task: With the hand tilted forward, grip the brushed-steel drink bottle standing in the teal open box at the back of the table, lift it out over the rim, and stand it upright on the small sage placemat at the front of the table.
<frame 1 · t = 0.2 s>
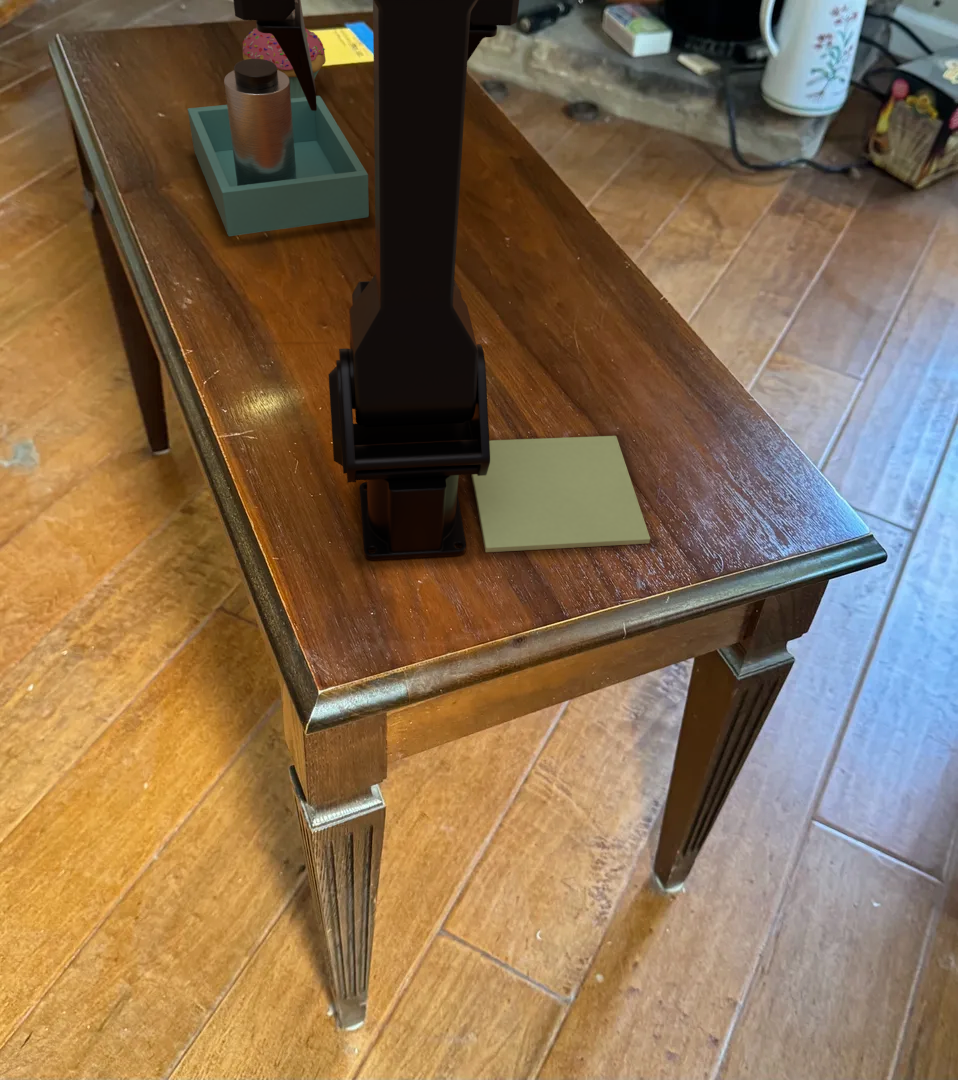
hand: (376, 108, 70), 14 cm above the table, tool pointing down, fingers open, 9 cm apart
placemat: (554, 493, 65), on the table
cupcake: (286, 98, 101), on the table
teal open box: (279, 190, 88), on the table
bottle: (269, 204, 85), point 1 cm above the table, touching teal open box
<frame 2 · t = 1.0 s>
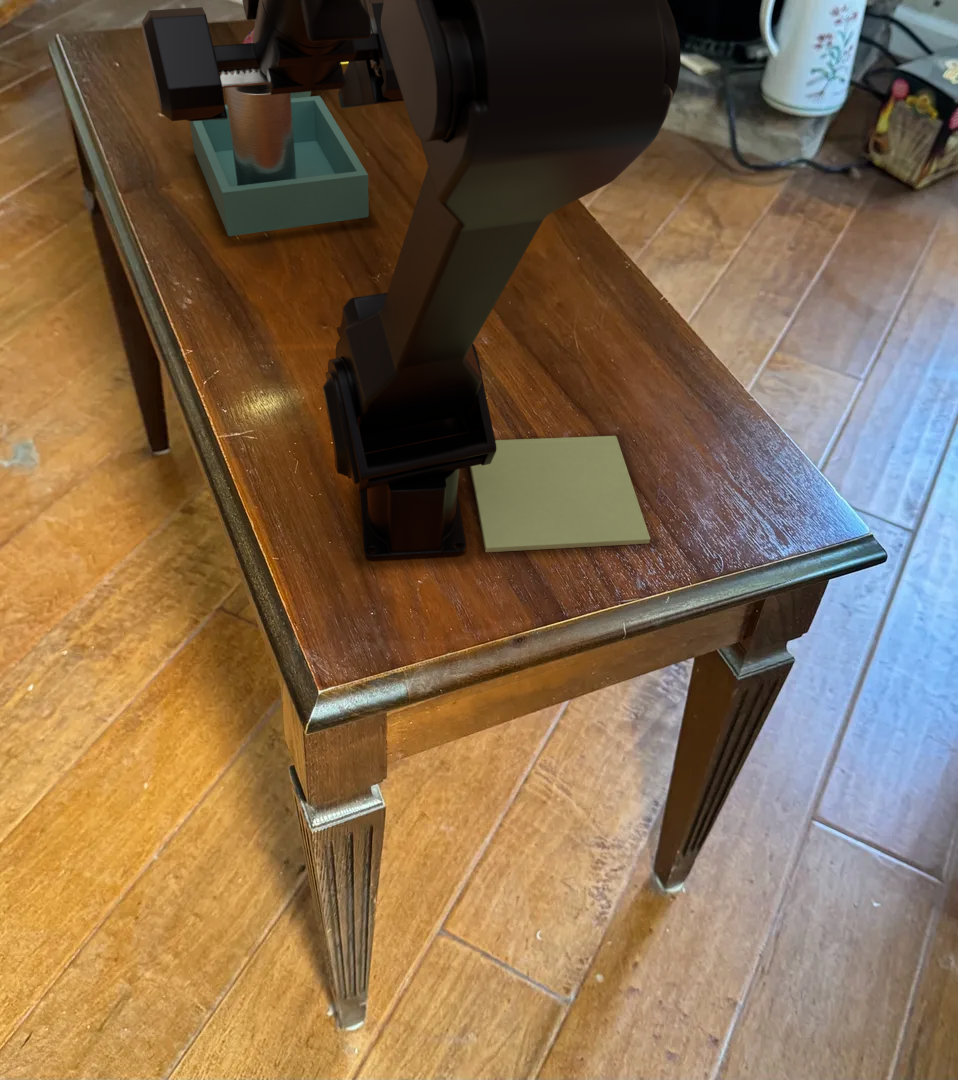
hand: (282, 106, 71), 13 cm above the table, tool tilted 45°, fingers open, 9 cm apart
nothing on the table moved.
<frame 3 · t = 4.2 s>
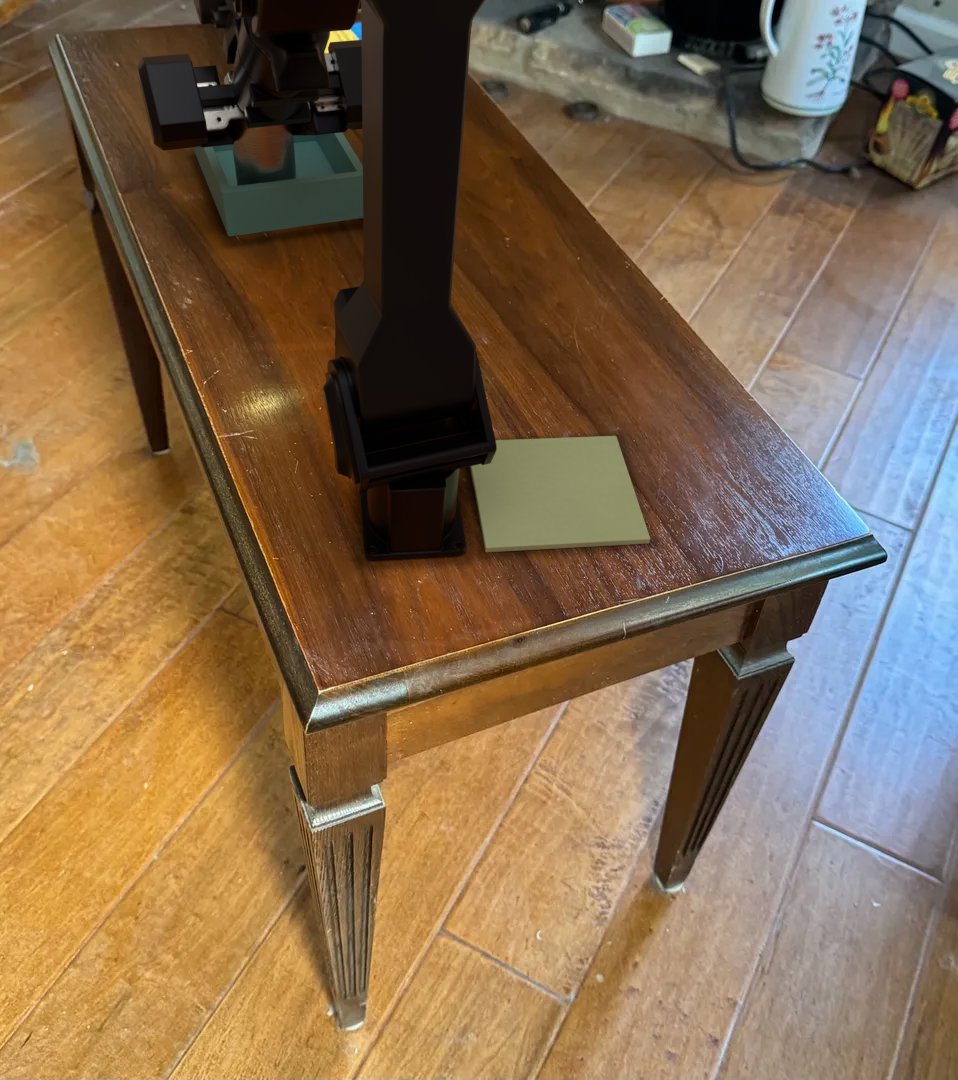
hand: (259, 132, 81), 7 cm above the table, tool tilted 45°, fingers closed on bottle, 5 cm apart
bottle: (269, 204, 85), point 1 cm above the table, touching gripper, teal open box
everything else where it was.
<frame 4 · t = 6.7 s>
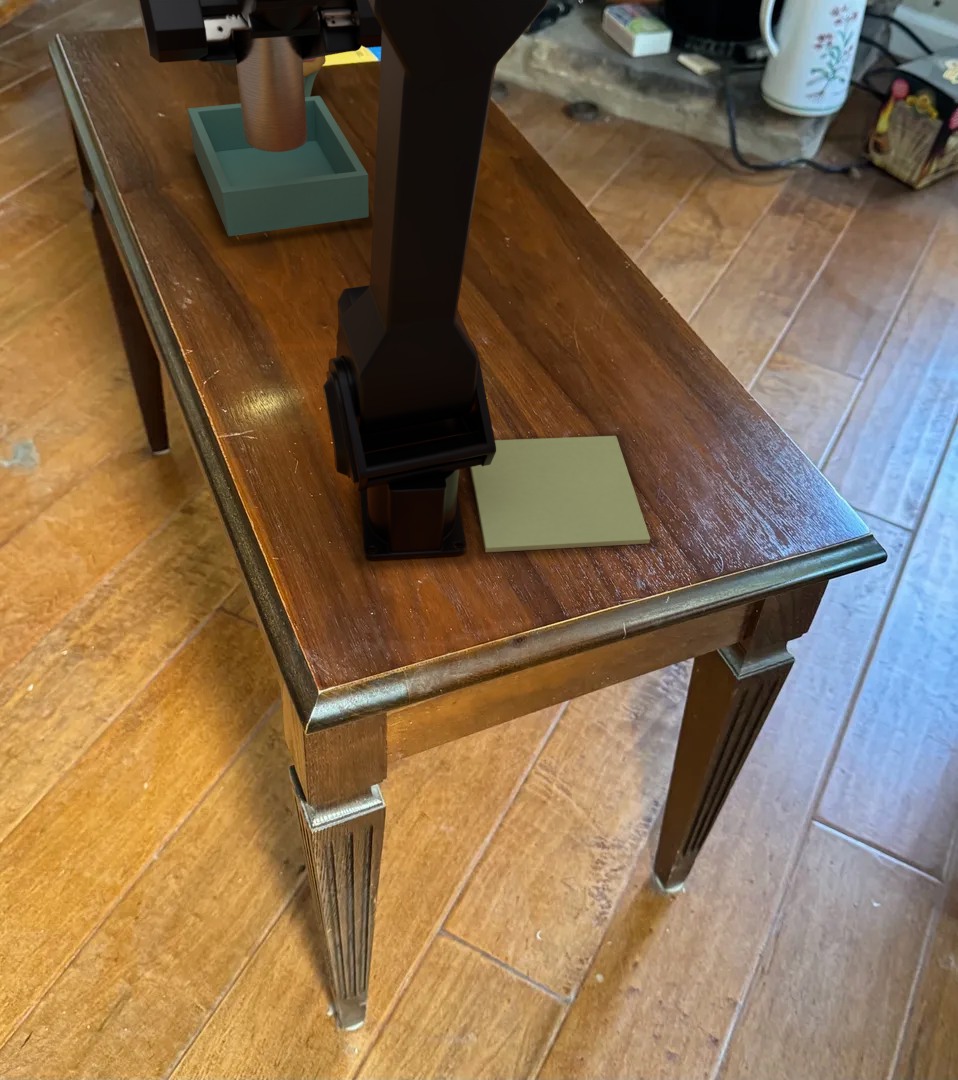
hand: (266, 56, 76), 14 cm above the table, tool tilted 45°, fingers closed on bottle, 5 cm apart
bottle: (276, 137, 79), point 8 cm above the table, touching gripper
everything else where it was.
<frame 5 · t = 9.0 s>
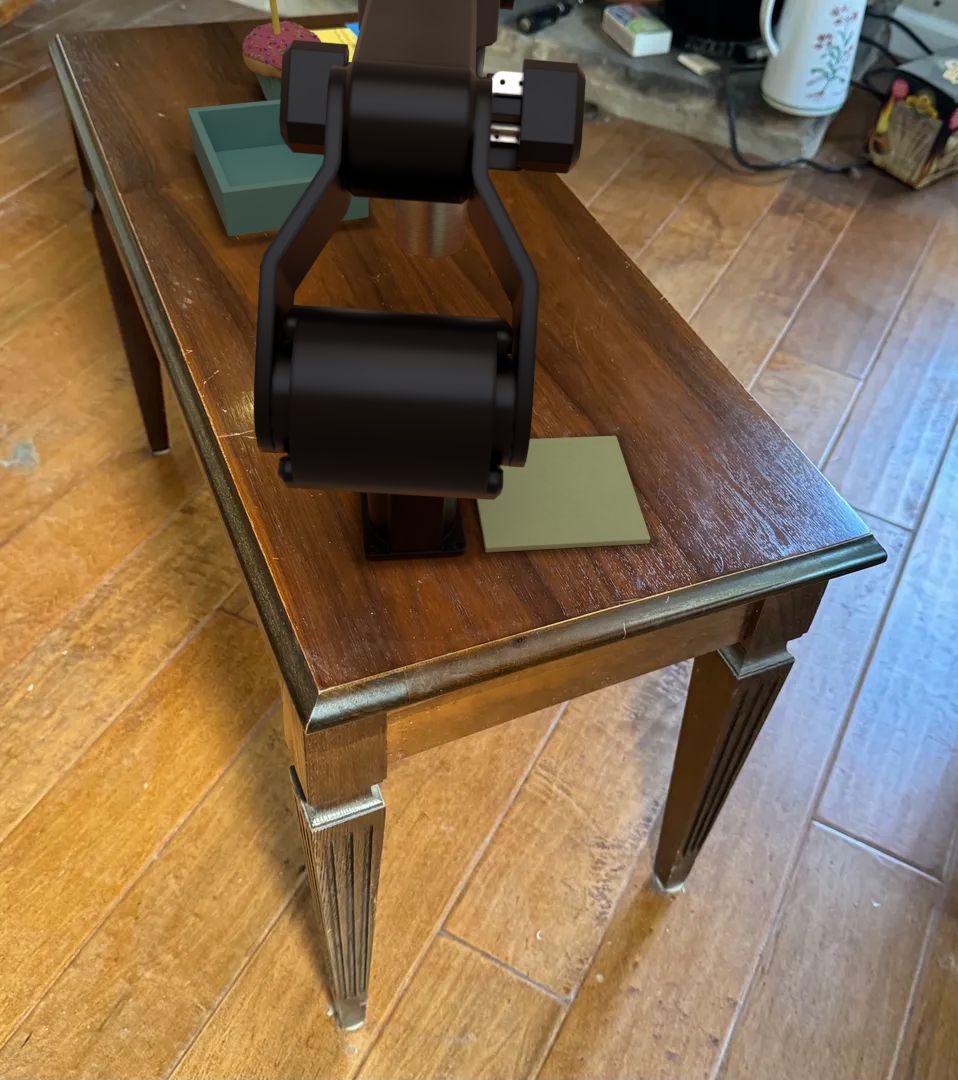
hand: (434, 154, 68), 13 cm above the table, tool tilted 45°, fingers closed on bottle, 5 cm apart
bottle: (429, 239, 71), point 7 cm above the table, touching gripper
everything else where it was.
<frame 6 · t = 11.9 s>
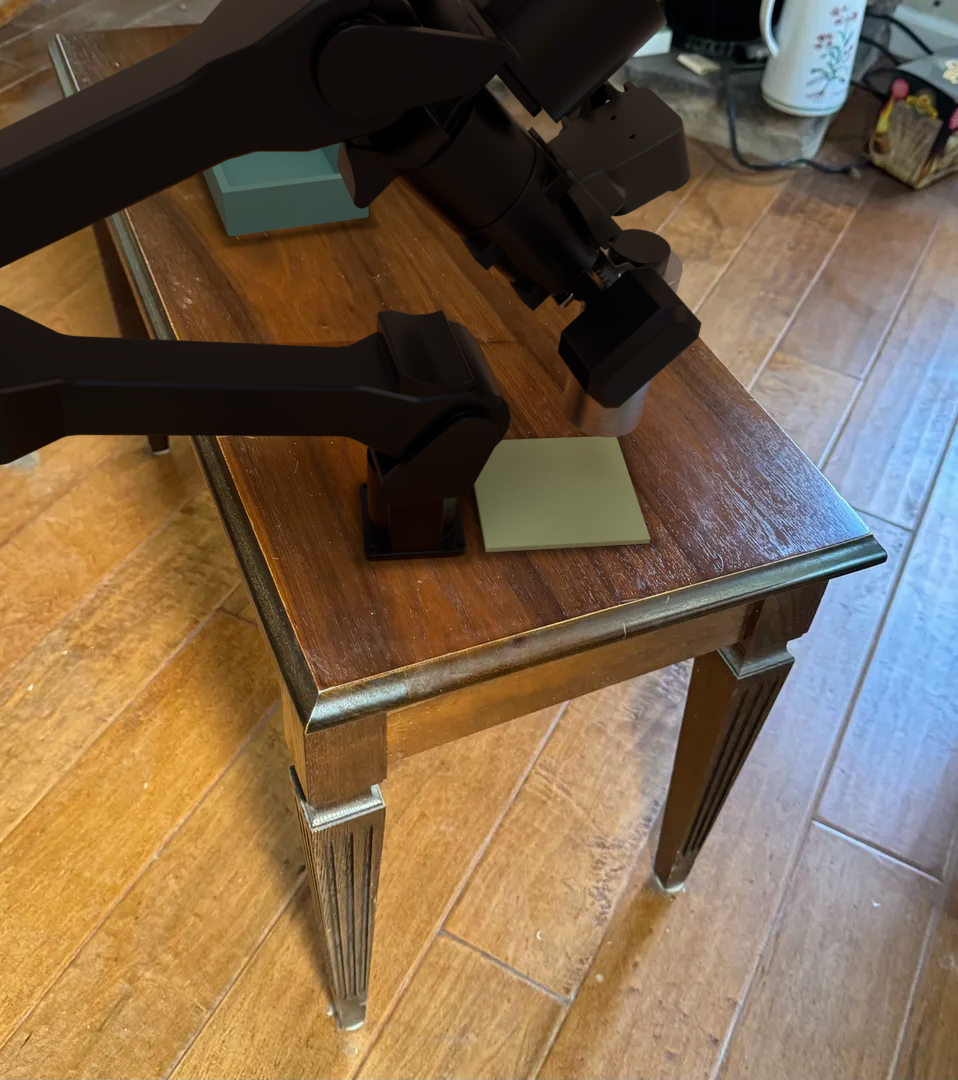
hand: (638, 331, 57), 12 cm above the table, tool tilted 45°, fingers closed on bottle, 5 cm apart
bottle: (601, 410, 61), point 7 cm above the table, touching gripper
everything else where it was.
when the fingers open (6 cm above the table, at t = 14.0 s): bottle stays where it is, resting on placemat.
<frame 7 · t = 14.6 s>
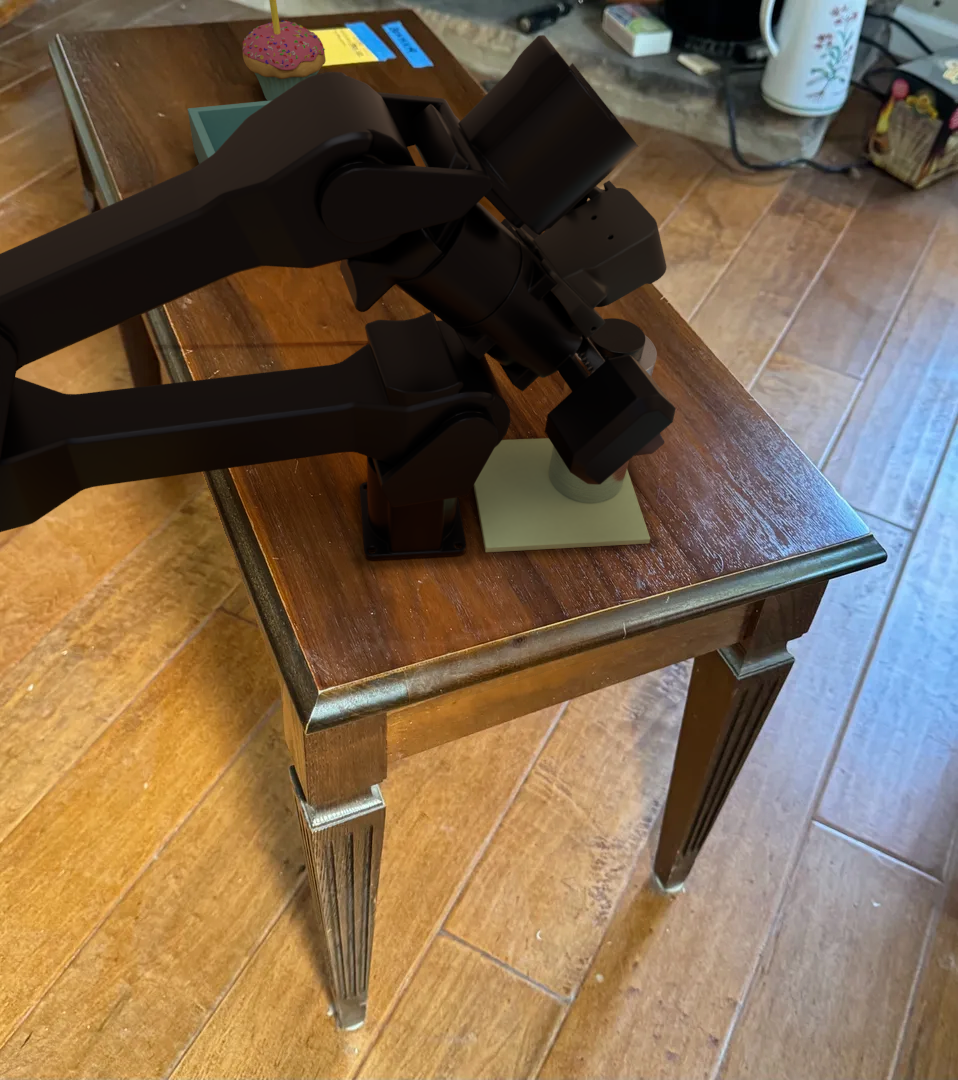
hand: (623, 399, 61), 7 cm above the table, tool tilted 45°, fingers open, 9 cm apart
bottle: (585, 476, 66), resting on placemat
everything else where it was.
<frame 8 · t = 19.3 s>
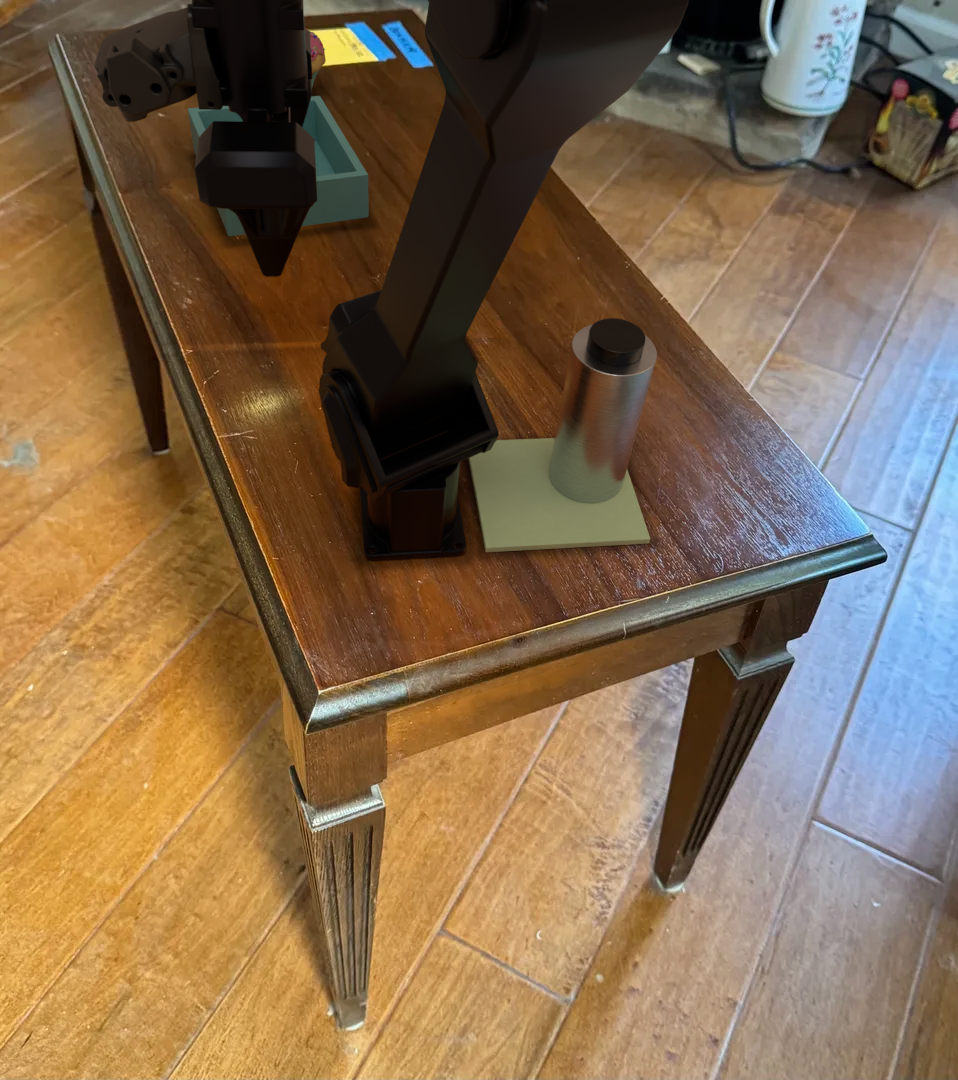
hand: (272, 235, 62), 12 cm above the table, tool pointing down, fingers open, 9 cm apart
nothing on the table moved.
at the end: bottle inside the target area on the placemat (2.6 cm from its centre), point 0.5 cm above the placemat's base; bottle tilted 0°; bottle touching placemat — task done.
